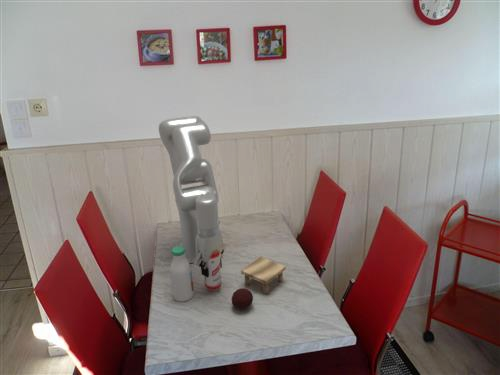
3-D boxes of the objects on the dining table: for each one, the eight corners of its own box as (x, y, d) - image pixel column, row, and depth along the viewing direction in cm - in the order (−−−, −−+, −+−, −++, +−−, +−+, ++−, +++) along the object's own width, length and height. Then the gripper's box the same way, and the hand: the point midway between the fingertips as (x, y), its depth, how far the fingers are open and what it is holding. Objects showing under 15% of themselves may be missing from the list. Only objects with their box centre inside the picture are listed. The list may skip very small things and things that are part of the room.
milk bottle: (190, 303, 148) (184, 255, 140) (170, 301, 150) (163, 253, 142) (197, 290, 155) (191, 244, 147) (177, 288, 157) (171, 242, 149)
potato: (257, 307, 144) (256, 290, 142) (240, 317, 140) (239, 300, 137) (244, 297, 150) (243, 281, 147) (227, 306, 145) (226, 290, 143)
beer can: (224, 284, 156) (223, 248, 149) (215, 293, 151) (213, 256, 144) (211, 279, 159) (209, 243, 152) (201, 288, 154) (199, 251, 147)
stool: (241, 284, 157) (241, 270, 155) (261, 270, 166) (260, 256, 163) (266, 296, 150) (266, 281, 147) (285, 280, 158) (285, 266, 156)
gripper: (217, 216, 153) (220, 257, 160) (182, 235, 141) (187, 278, 148) (232, 222, 149) (234, 264, 156) (198, 242, 137) (202, 286, 144)
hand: (211, 270), depth 152 cm, fingers closed on beer can, 6 cm apart
